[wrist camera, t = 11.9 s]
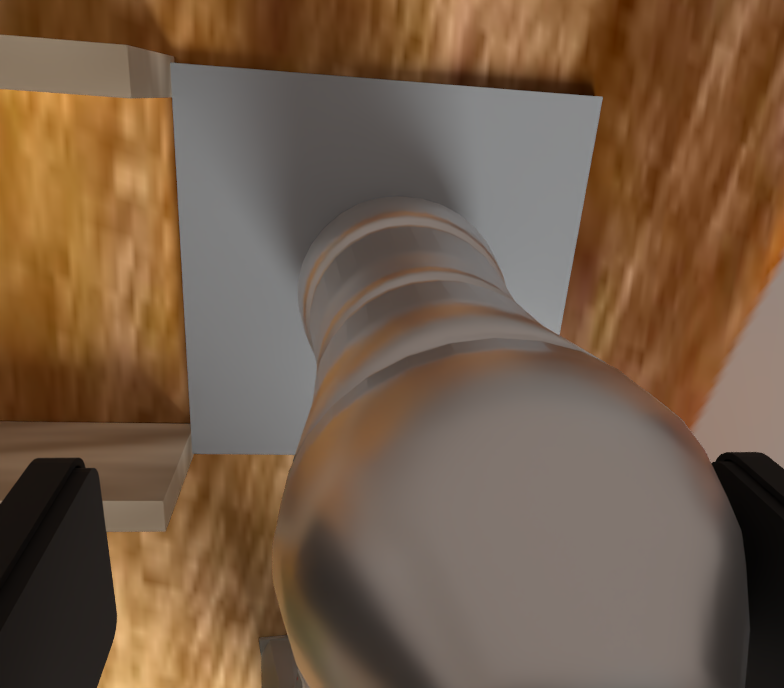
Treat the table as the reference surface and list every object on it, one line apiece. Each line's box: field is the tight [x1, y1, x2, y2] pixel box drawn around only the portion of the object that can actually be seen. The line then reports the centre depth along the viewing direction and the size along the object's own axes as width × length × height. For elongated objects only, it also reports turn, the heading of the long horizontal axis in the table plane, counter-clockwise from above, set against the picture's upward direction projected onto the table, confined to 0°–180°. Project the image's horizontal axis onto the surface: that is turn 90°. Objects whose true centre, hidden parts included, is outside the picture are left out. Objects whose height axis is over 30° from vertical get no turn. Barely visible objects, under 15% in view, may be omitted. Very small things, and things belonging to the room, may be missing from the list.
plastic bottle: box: [272, 196, 750, 688], centre depth 13 cm, size 6×7×20 cm
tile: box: [170, 63, 603, 455], centre depth 23 cm, size 14×14×1 cm
